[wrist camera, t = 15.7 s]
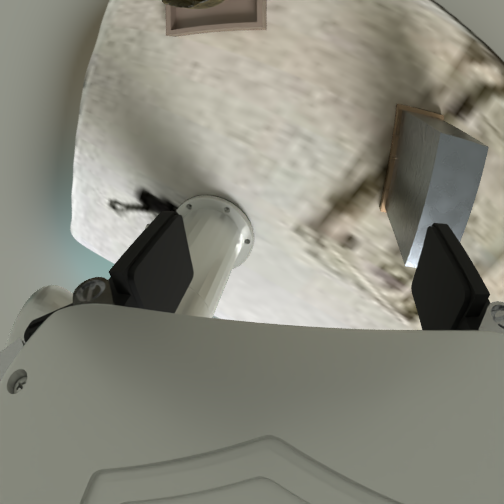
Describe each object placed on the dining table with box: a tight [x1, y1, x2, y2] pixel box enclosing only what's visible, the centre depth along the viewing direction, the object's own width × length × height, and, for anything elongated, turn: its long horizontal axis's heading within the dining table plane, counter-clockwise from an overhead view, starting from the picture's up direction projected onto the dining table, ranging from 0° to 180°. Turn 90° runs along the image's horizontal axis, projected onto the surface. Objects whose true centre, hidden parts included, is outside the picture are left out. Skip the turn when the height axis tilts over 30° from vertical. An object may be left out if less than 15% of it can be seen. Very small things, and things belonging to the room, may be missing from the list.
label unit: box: [380, 104, 488, 267], centre depth 27 cm, size 6×14×13 cm, turn 0°
